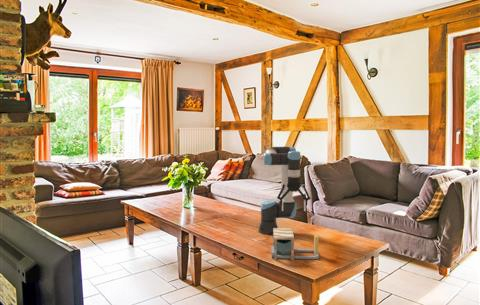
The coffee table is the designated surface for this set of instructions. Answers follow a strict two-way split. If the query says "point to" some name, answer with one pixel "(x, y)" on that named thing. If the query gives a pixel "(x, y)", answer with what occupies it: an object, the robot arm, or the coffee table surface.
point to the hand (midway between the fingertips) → (293, 210)
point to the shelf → (283, 234)
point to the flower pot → (283, 246)
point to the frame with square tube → (316, 241)
